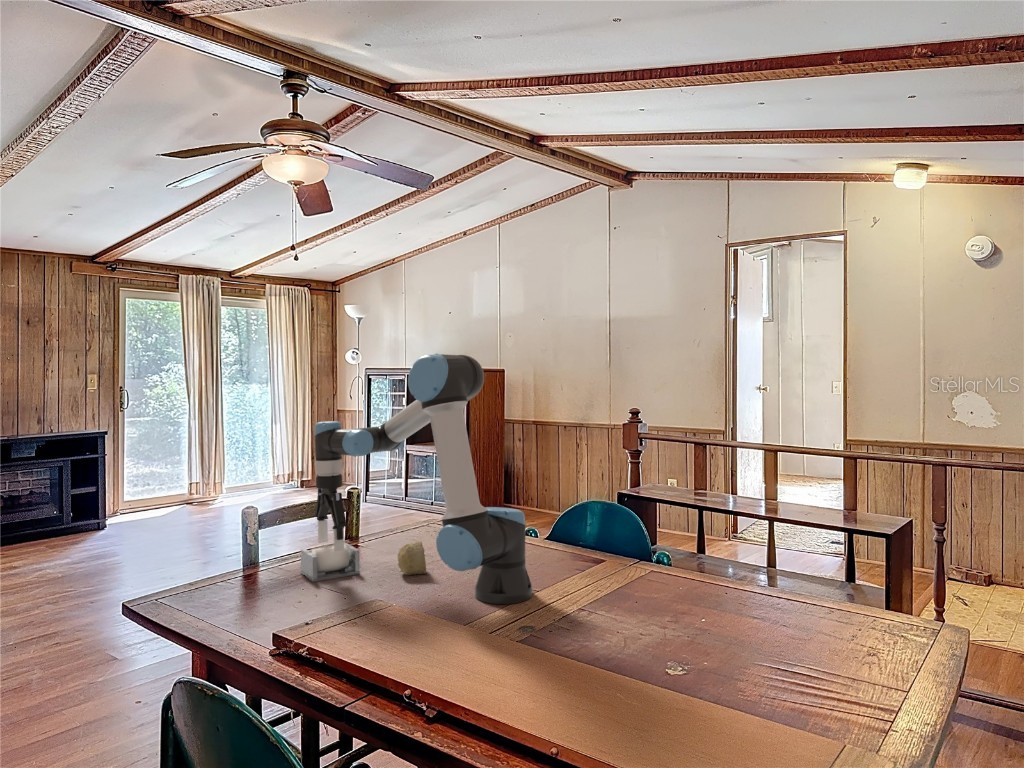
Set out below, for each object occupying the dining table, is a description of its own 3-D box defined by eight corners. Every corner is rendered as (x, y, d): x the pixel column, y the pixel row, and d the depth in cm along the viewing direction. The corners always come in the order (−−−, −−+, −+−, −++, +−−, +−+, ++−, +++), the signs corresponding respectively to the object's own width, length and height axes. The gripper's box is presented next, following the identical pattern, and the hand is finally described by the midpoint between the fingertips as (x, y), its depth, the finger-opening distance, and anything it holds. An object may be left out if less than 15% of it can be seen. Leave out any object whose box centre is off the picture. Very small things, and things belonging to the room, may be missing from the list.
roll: (341, 567, 213) (340, 543, 214) (350, 569, 207) (348, 545, 208) (311, 572, 208) (310, 548, 208) (319, 575, 202) (318, 550, 203)
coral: (438, 553, 204) (405, 541, 202) (423, 585, 204) (391, 573, 202) (436, 543, 213) (405, 531, 211) (422, 573, 213) (391, 561, 211)
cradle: (346, 565, 217) (346, 542, 216) (359, 573, 207) (359, 550, 207) (300, 572, 209) (300, 549, 209) (312, 582, 200) (312, 557, 199)
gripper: (357, 477, 199) (358, 552, 199) (327, 468, 220) (328, 537, 220) (331, 479, 195) (333, 556, 195) (303, 471, 216) (304, 540, 216)
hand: (330, 546), depth 208 cm, fingers open, 13 cm apart
